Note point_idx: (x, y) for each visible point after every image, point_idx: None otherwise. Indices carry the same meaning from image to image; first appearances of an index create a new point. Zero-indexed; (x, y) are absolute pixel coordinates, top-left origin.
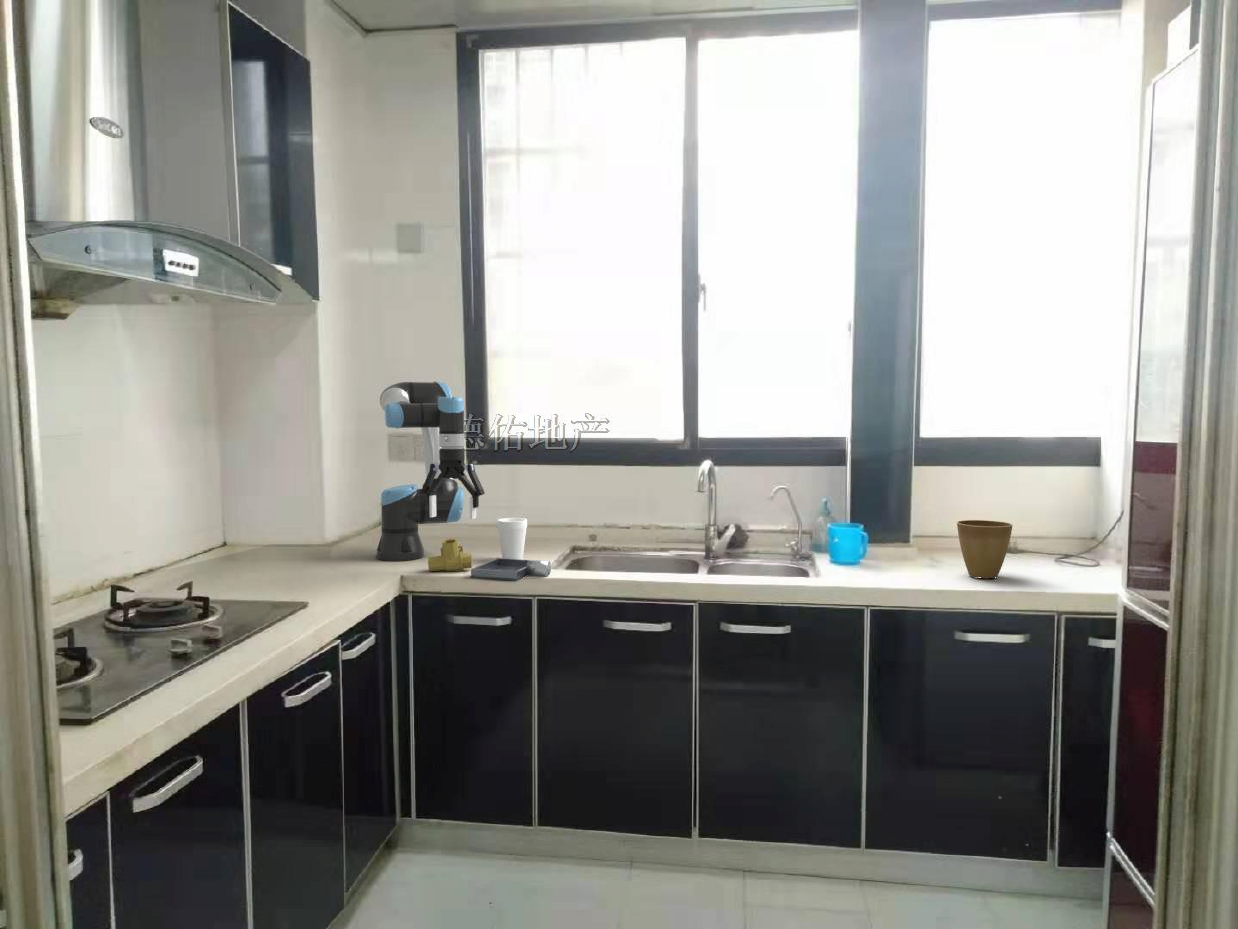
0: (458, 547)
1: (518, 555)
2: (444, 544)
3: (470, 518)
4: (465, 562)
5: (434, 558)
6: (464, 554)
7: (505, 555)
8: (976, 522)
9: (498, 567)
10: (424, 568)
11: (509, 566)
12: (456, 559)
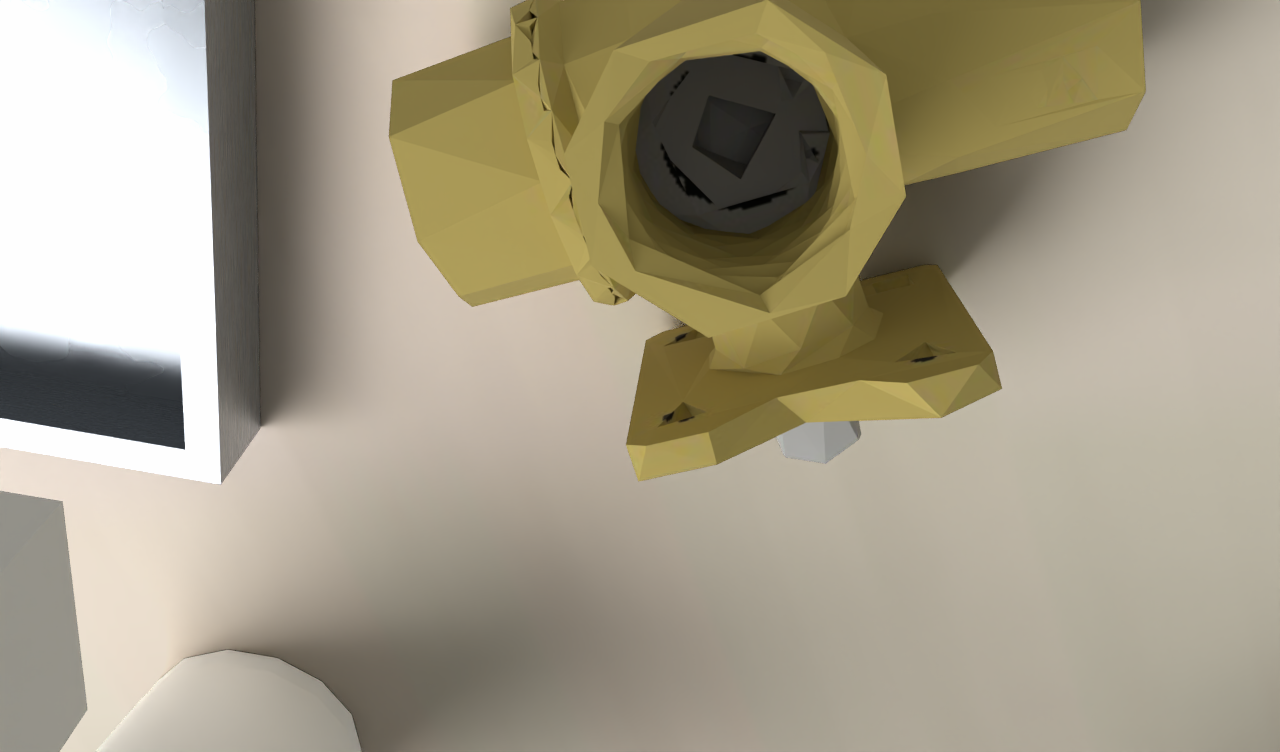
0: (689, 425)
1: (125, 719)
2: (814, 28)
3: (33, 510)
4: (475, 51)
5: None
6: (501, 168)
7: (265, 707)
8: None
9: (134, 248)
10: (1192, 180)
11: (33, 322)
12: (606, 25)
